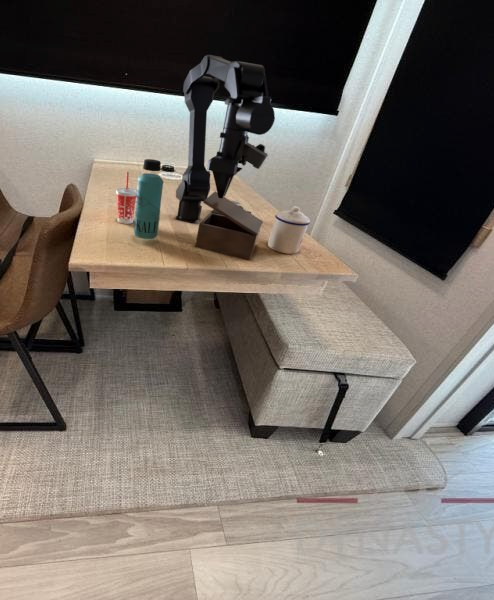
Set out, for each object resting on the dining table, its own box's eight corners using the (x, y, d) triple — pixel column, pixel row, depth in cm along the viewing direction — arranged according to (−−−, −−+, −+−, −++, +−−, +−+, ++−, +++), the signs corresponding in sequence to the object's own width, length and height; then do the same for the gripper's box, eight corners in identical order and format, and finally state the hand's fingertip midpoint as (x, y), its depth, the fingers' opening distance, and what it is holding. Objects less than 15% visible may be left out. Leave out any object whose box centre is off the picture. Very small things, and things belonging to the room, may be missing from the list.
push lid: (225, 207, 109) (226, 202, 108) (228, 205, 112) (229, 200, 111) (237, 210, 108) (238, 205, 107) (239, 207, 111) (240, 202, 110)
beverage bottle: (145, 233, 91) (152, 156, 80) (162, 241, 87) (172, 162, 76) (127, 238, 87) (132, 157, 76) (144, 247, 83) (152, 163, 72)
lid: (202, 202, 81) (204, 200, 80) (213, 193, 90) (215, 191, 90) (255, 236, 80) (257, 233, 79) (261, 223, 89) (262, 221, 89)
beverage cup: (136, 219, 100) (140, 171, 93) (133, 225, 95) (137, 175, 88) (117, 216, 100) (119, 168, 93) (112, 222, 95) (114, 172, 88)
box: (195, 246, 87) (199, 223, 84) (206, 233, 96) (210, 212, 93) (249, 260, 83) (256, 236, 80) (255, 245, 92) (261, 223, 89)
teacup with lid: (304, 255, 90) (320, 214, 83) (273, 253, 89) (286, 211, 82) (287, 239, 100) (300, 200, 94) (259, 236, 99) (270, 198, 92)
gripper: (266, 136, 66) (247, 212, 74) (274, 132, 81) (257, 195, 90) (213, 128, 69) (200, 202, 77) (230, 126, 84) (218, 188, 92)
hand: (221, 196), depth 84 cm, fingers open, 3 cm apart
